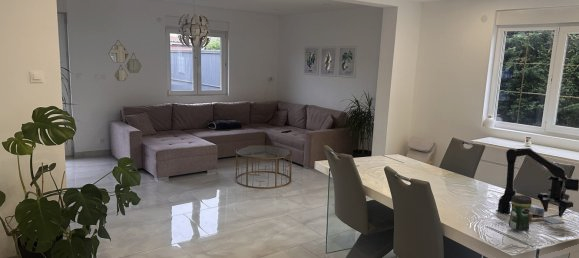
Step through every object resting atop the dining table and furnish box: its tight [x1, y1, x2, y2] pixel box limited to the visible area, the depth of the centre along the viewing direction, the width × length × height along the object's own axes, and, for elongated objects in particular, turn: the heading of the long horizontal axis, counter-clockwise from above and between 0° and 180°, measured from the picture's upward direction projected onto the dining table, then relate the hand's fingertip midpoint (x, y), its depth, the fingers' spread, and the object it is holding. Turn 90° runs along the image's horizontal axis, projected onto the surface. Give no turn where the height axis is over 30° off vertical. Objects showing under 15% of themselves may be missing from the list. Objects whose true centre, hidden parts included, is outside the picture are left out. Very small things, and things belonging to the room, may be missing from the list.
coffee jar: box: [508, 194, 533, 232], centre depth 224 cm, size 10×8×19 cm
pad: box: [542, 217, 565, 225], centre depth 240 cm, size 9×8×1 cm
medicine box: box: [529, 204, 545, 217], centre depth 250 cm, size 8×4×9 cm
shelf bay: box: [529, 213, 544, 223], centre depth 243 cm, size 10×8×4 cm
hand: (552, 214), depth 239 cm, fingers open, 9 cm apart
